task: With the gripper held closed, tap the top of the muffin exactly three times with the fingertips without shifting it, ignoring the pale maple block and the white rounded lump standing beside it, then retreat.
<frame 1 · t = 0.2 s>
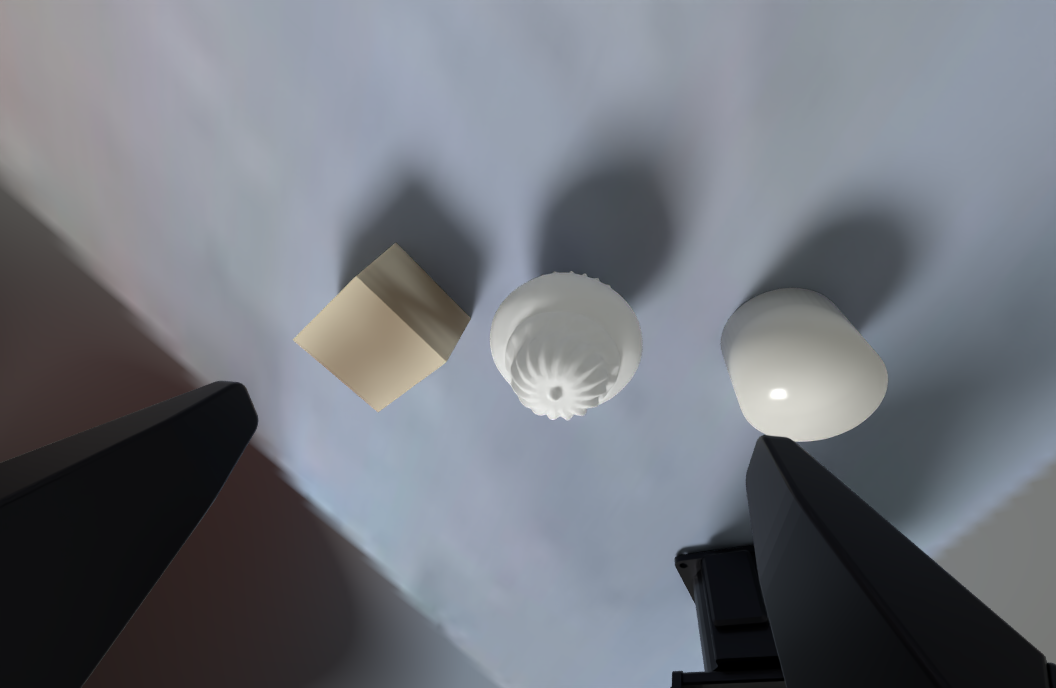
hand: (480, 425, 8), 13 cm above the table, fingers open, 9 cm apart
maple block: (404, 308, 23), on the table
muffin: (572, 304, 22), on the table
white rounded lump: (779, 338, 21), on the table
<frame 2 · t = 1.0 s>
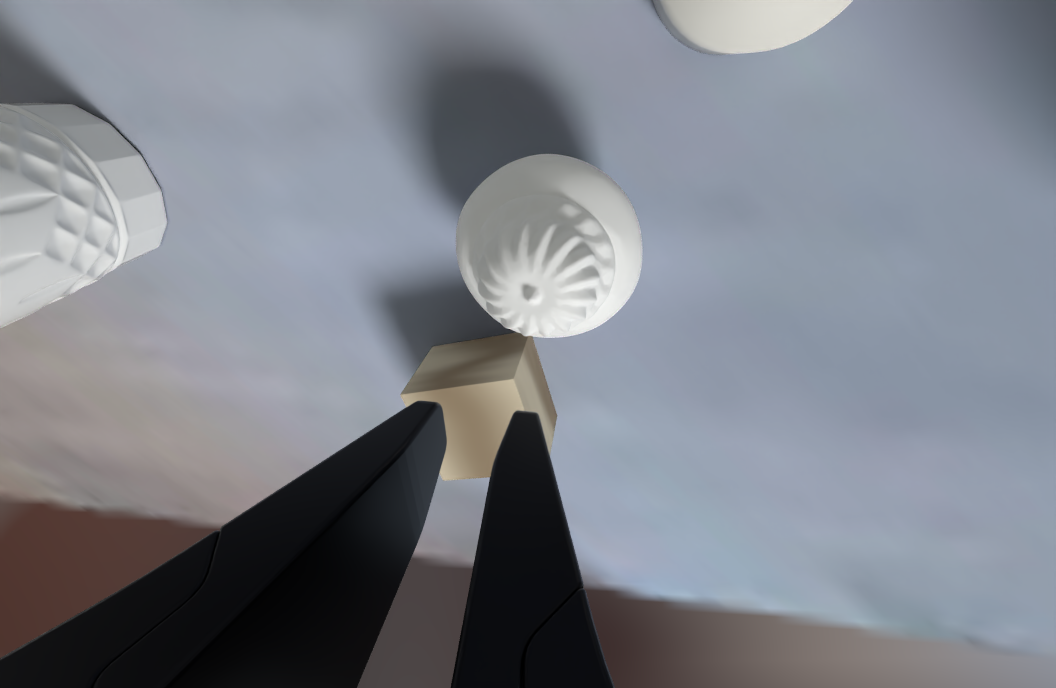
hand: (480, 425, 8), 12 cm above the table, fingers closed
maple block: (496, 380, 23), on the table
white cup: (102, 184, 21), on the table
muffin: (560, 221, 18), on the table
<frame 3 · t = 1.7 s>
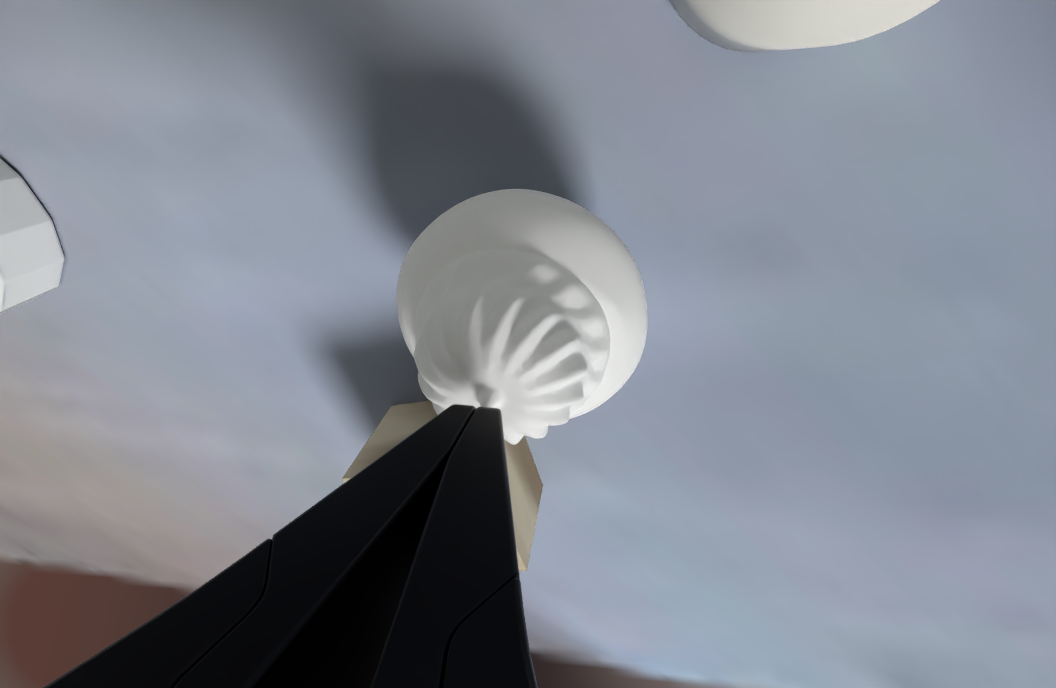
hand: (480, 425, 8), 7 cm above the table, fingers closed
maple block: (469, 444, 19), on the table
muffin: (541, 263, 14), on the table
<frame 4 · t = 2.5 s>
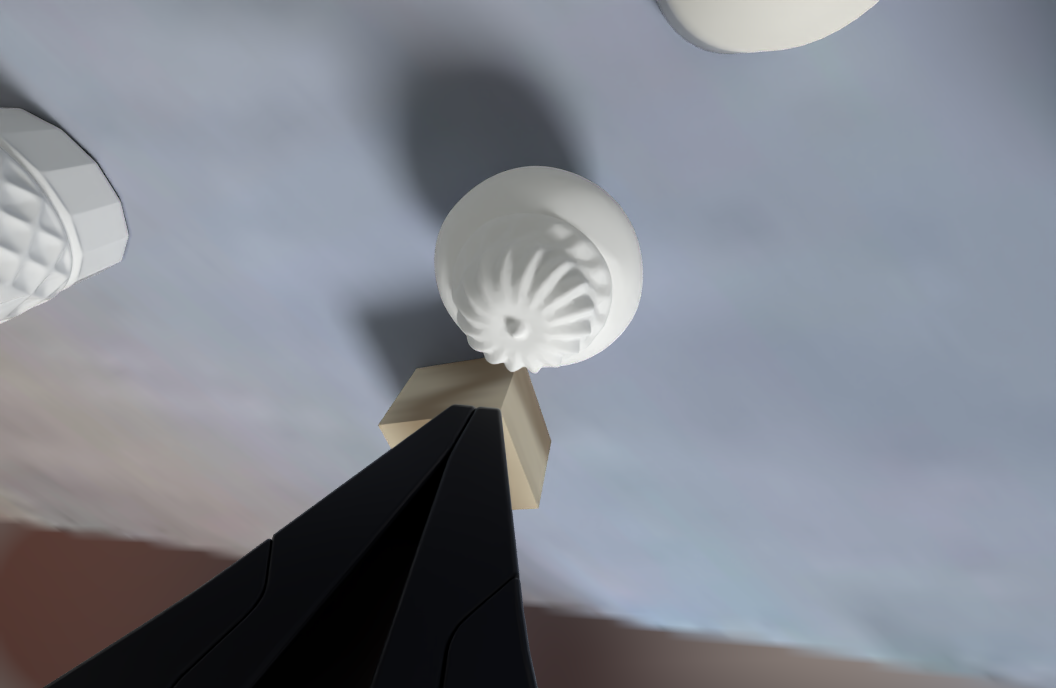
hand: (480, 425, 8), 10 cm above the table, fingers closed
maple block: (485, 403, 21), on the table
white cup: (58, 194, 19), on the table
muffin: (552, 236, 17), on the table
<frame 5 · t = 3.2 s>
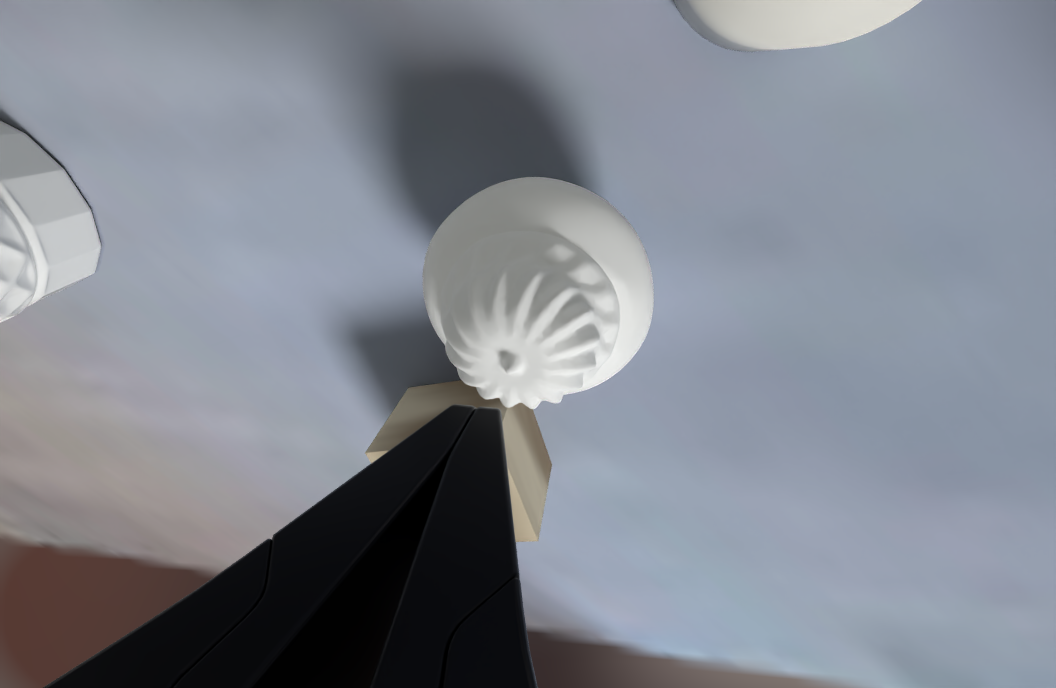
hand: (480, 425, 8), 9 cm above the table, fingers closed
maple block: (482, 424, 20), on the table
white cup: (26, 202, 18), on the table
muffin: (553, 250, 15), on the table
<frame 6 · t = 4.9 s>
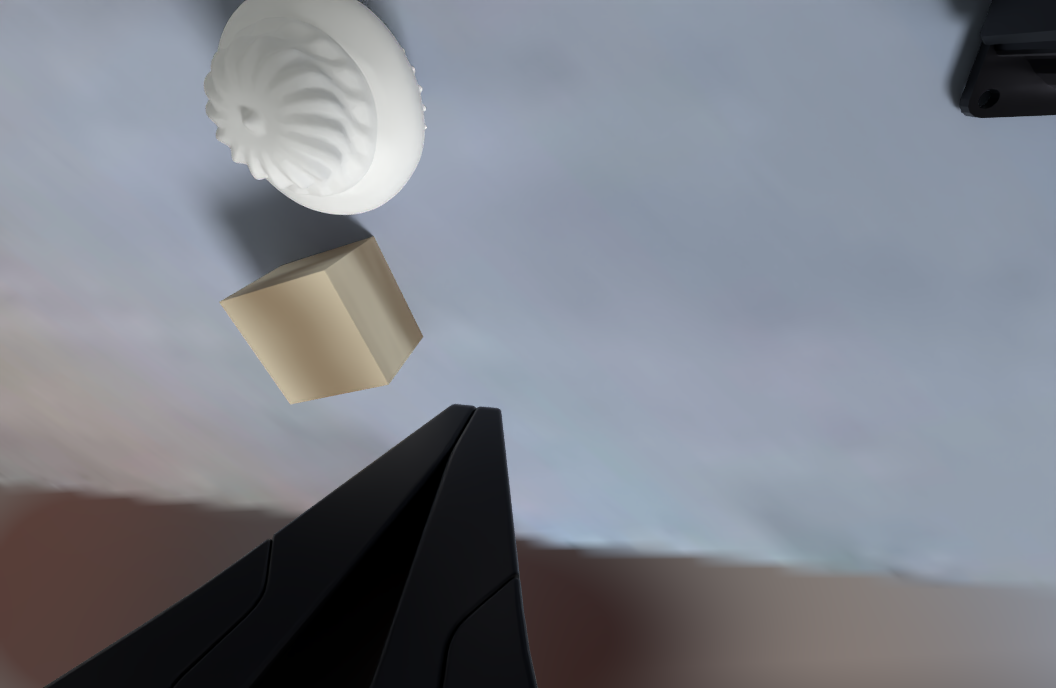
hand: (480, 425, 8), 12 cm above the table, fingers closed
maple block: (354, 300, 21), on the table
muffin: (377, 102, 17), on the table
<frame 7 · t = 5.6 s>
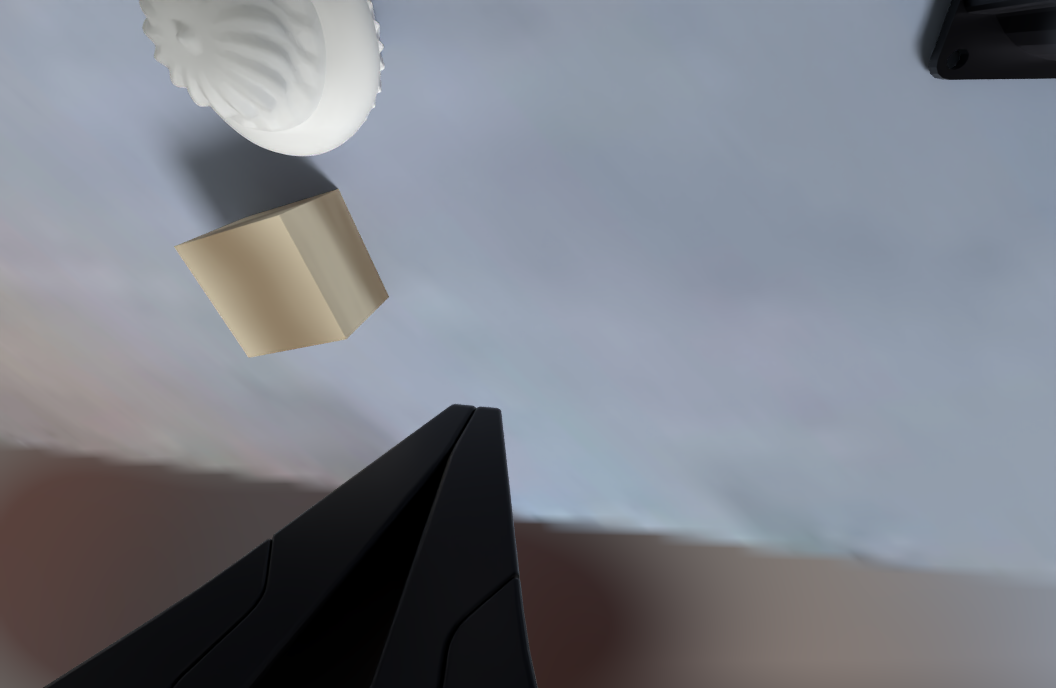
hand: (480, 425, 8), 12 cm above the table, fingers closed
maple block: (320, 256, 21), on the table
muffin: (341, 46, 16), on the table
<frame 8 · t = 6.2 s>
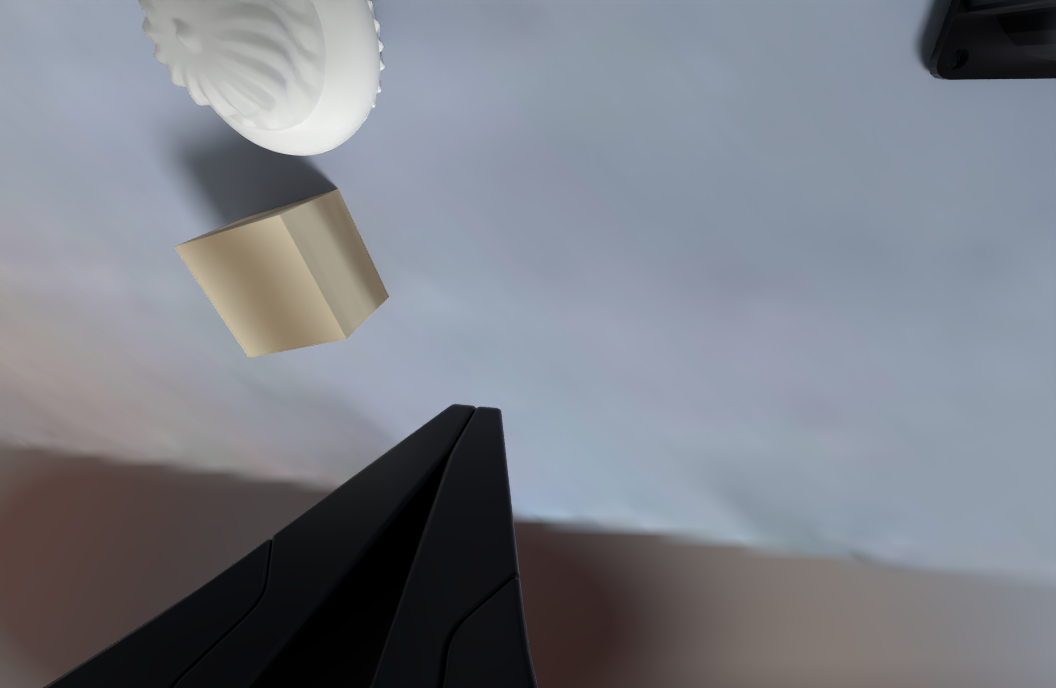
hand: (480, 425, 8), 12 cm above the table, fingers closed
maple block: (320, 256, 21), on the table
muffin: (341, 46, 16), on the table
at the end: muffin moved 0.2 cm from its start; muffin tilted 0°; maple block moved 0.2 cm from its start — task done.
